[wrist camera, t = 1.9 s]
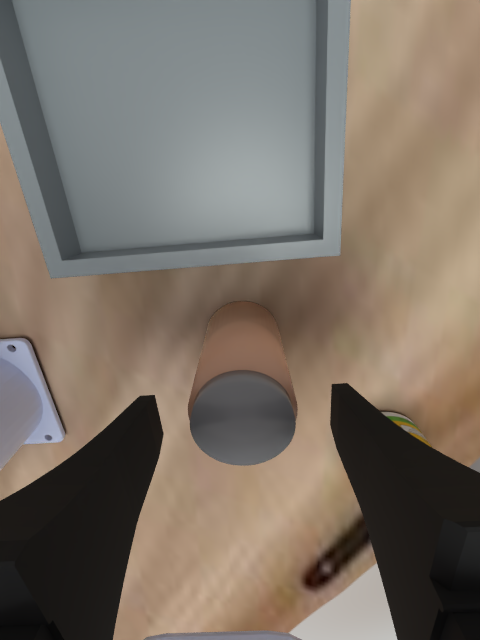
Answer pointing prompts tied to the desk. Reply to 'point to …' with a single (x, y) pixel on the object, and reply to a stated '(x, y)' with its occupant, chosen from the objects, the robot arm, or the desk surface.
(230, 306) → the shaker
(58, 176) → the tray
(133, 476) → the robot arm
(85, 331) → the desk surface
